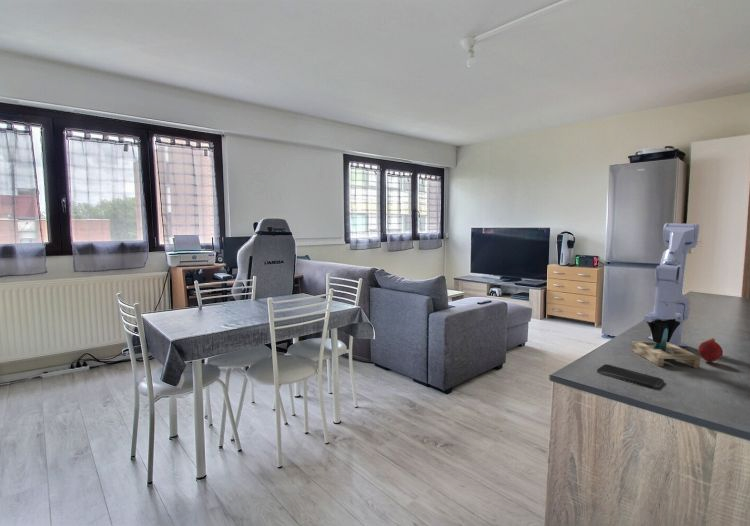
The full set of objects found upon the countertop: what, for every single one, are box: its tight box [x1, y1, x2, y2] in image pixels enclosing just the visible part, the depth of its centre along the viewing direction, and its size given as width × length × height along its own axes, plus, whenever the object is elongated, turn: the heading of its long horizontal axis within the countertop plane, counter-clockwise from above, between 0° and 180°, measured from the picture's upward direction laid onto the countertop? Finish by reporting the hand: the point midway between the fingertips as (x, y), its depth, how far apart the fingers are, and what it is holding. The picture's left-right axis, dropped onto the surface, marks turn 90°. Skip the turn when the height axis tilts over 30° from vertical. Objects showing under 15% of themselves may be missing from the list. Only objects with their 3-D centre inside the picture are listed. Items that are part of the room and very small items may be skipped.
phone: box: [596, 364, 665, 390], centre depth 111 cm, size 8×1×15 cm
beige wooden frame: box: [631, 340, 701, 369], centre depth 126 cm, size 14×12×4 cm
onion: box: [697, 337, 724, 363], centre depth 124 cm, size 6×6×8 cm
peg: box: [653, 327, 671, 361], centre depth 128 cm, size 6×6×10 cm
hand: (661, 341), depth 128 cm, fingers closed on peg, 3 cm apart
